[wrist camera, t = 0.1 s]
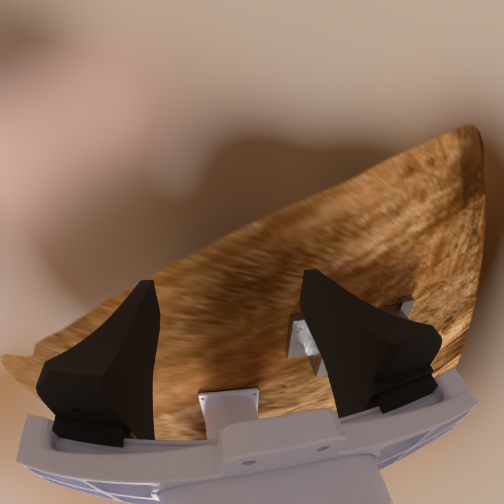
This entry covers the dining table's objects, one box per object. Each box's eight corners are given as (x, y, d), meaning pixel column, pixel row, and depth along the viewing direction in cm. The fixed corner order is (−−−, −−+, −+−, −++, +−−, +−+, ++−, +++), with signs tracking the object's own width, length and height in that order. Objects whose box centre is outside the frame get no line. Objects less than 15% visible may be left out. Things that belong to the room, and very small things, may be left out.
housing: (396, 330, 34) (414, 355, 29) (285, 352, 31) (296, 386, 27) (410, 295, 31) (432, 320, 26) (290, 314, 28) (305, 350, 24)
